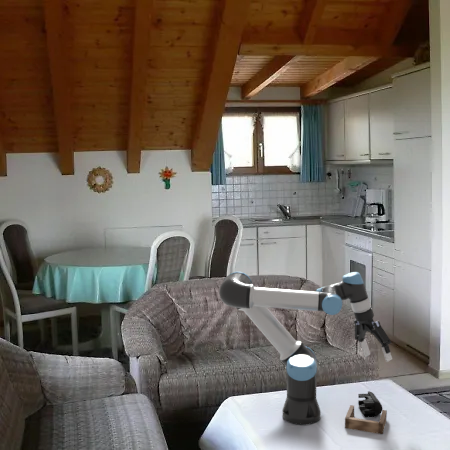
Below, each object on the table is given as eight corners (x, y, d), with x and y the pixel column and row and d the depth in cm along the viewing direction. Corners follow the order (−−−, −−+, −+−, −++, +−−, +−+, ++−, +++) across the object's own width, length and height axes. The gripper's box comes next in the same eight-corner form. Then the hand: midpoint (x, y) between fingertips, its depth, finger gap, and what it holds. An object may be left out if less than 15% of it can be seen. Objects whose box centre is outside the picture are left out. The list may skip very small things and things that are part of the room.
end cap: (382, 417, 228) (382, 401, 227) (364, 418, 227) (365, 402, 226) (374, 406, 237) (375, 390, 237) (357, 406, 237) (358, 391, 236)
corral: (344, 428, 219) (345, 418, 219) (350, 414, 230) (350, 405, 230) (382, 434, 214) (382, 424, 214) (386, 420, 225) (386, 410, 225)
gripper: (389, 308, 224) (405, 358, 225) (350, 304, 246) (365, 349, 248) (375, 315, 221) (391, 366, 222) (337, 310, 243) (352, 357, 245)
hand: (378, 357), depth 235 cm, fingers open, 13 cm apart
